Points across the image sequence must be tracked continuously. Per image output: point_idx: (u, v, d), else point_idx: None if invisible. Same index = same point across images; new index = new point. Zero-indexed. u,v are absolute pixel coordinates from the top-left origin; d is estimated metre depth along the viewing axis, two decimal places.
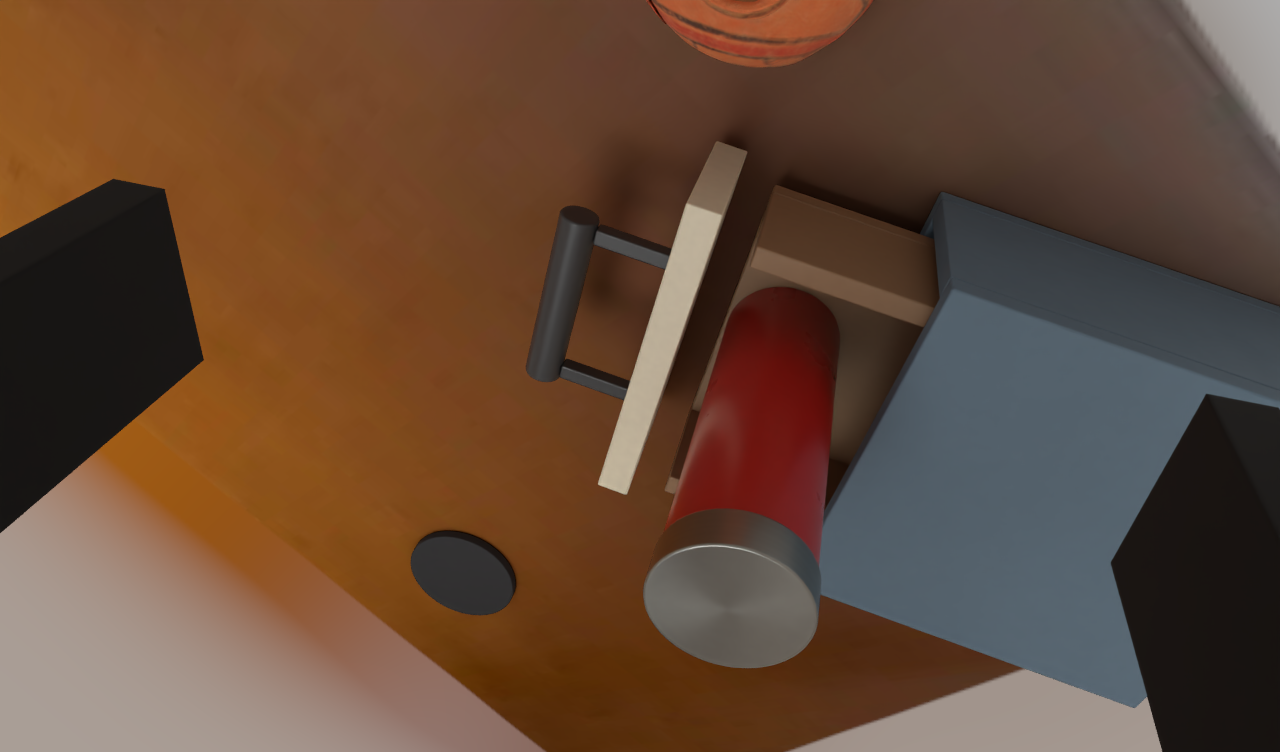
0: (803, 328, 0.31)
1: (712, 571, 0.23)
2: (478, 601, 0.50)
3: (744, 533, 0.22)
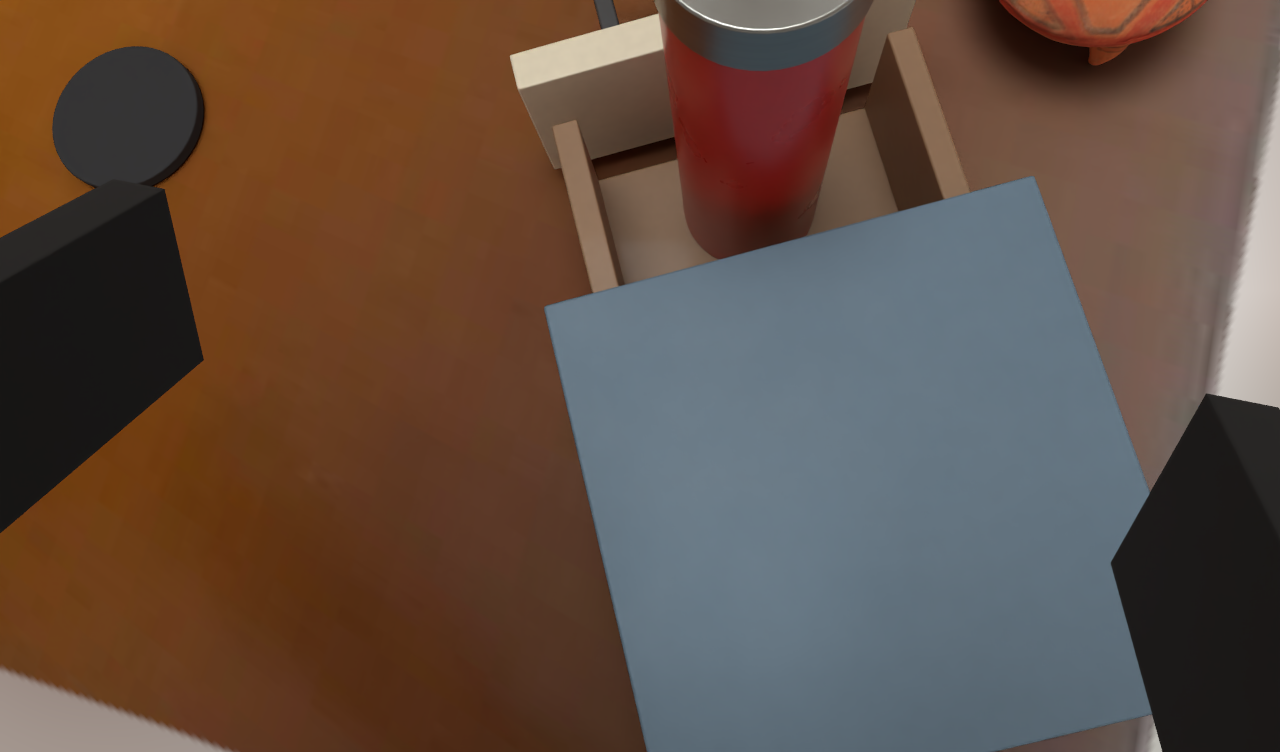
0: None
1: None
2: (92, 153, 0.35)
3: None
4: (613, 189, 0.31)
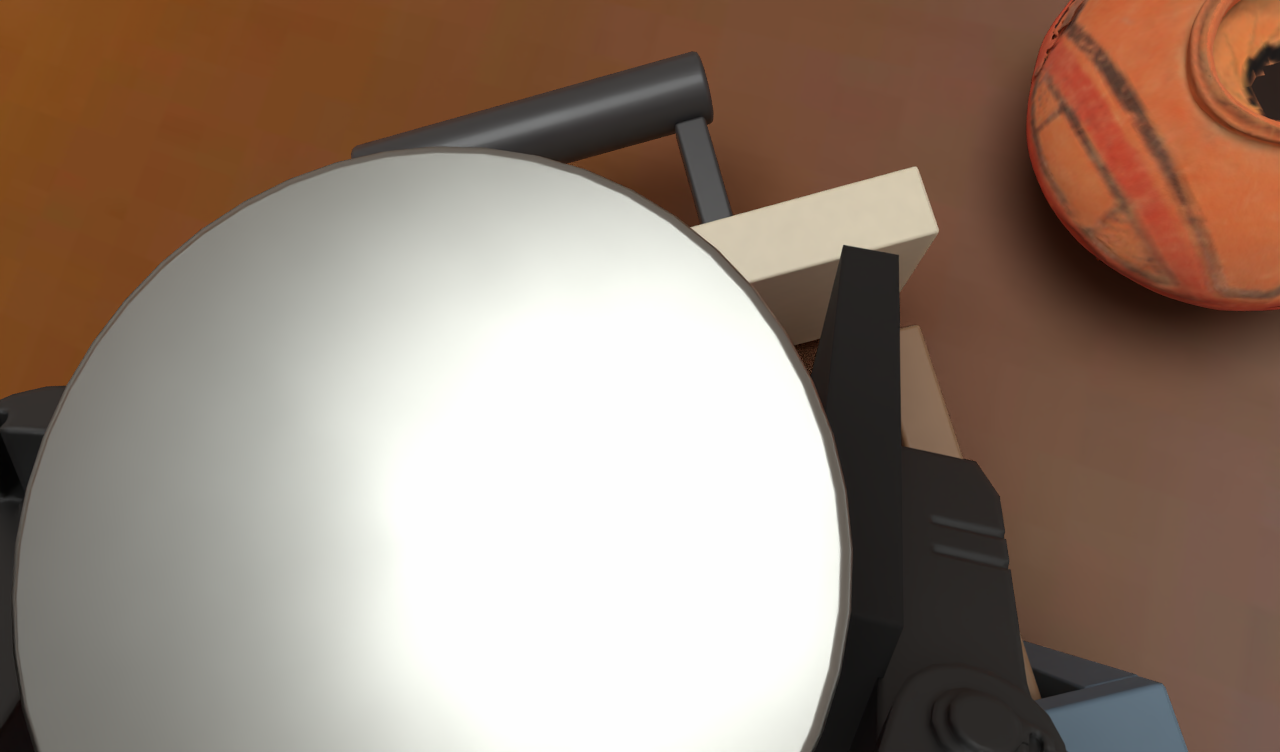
0: None
1: (585, 349, 0.05)
2: None
3: None
4: None
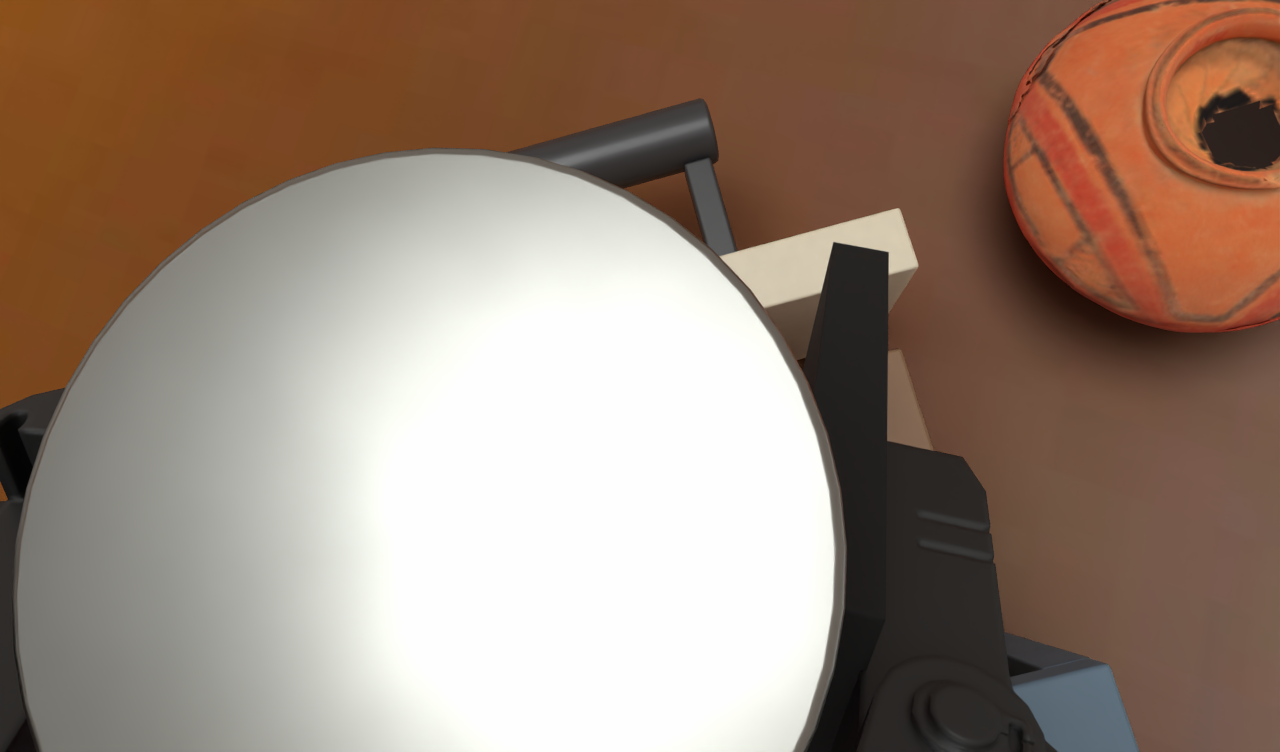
0: None
1: (582, 349, 0.05)
2: None
3: None
4: None
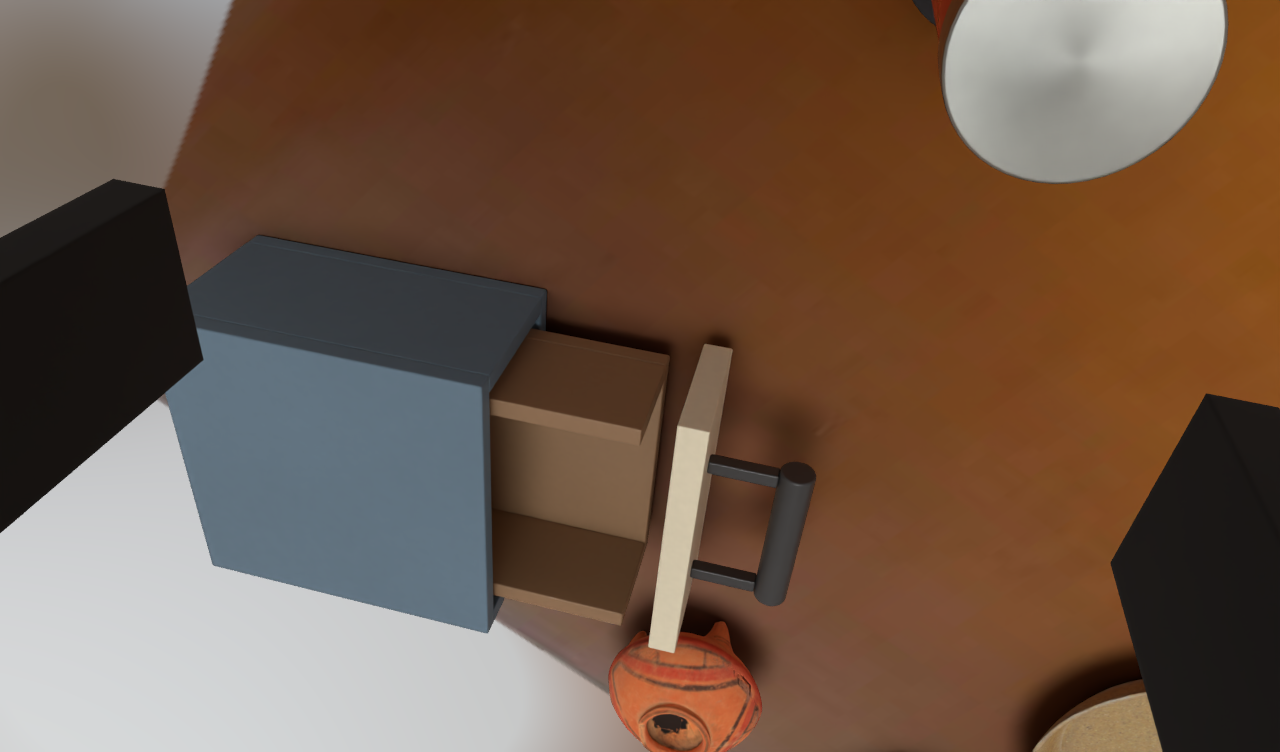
0: None
1: (1101, 131, 0.16)
2: None
3: None
4: None
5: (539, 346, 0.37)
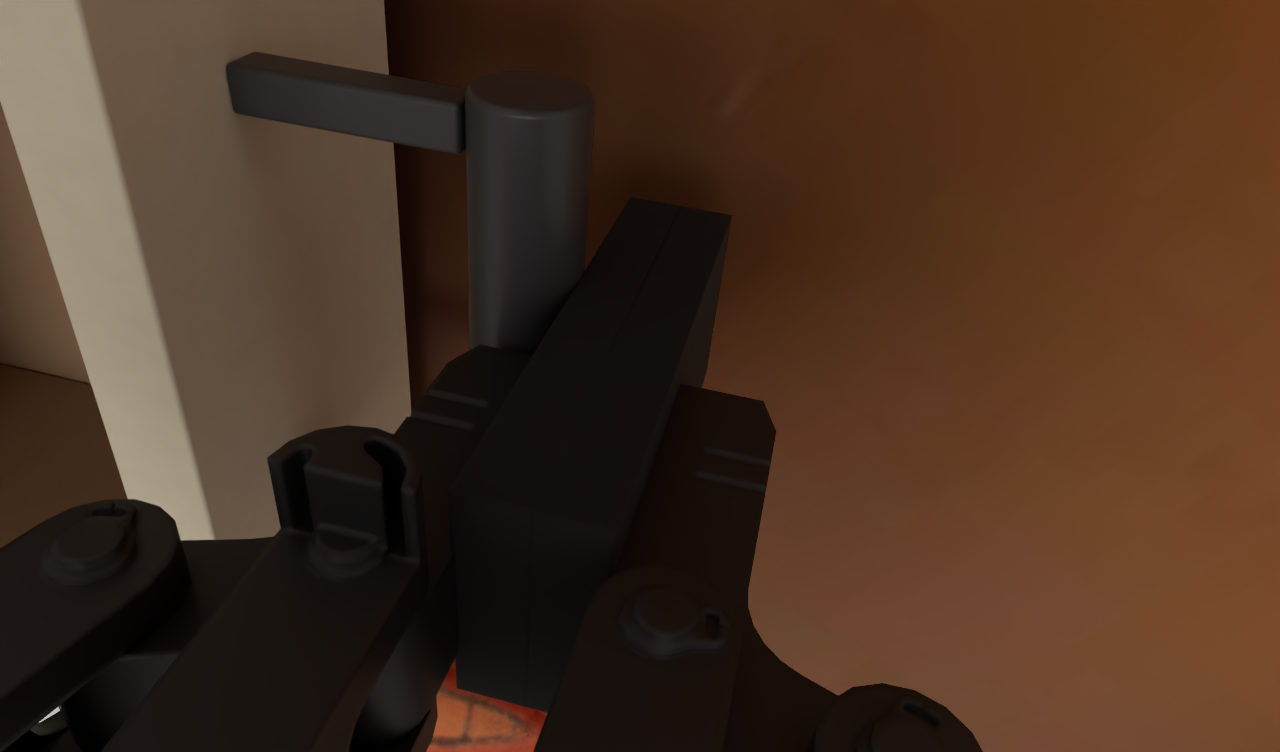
0: None
1: None
2: None
3: None
4: None
5: None
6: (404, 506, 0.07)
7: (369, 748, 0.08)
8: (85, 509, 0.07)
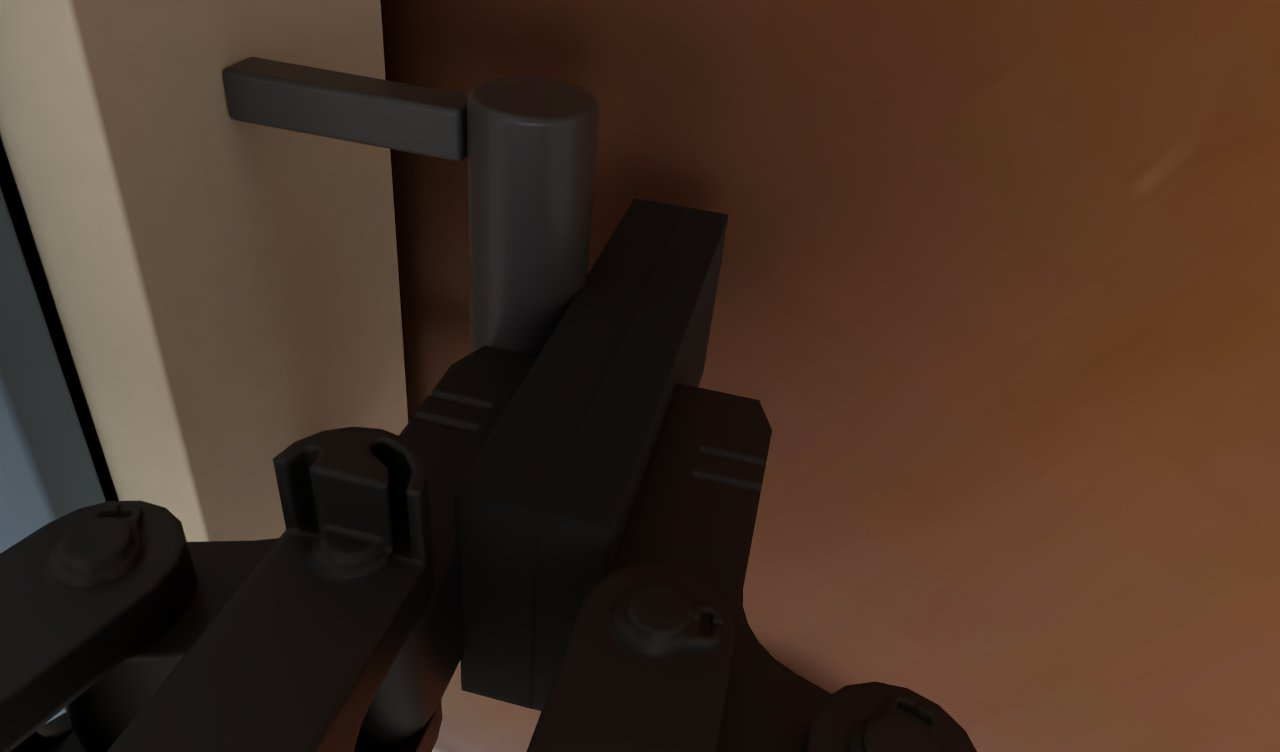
0: None
1: None
2: None
3: None
4: None
5: None
6: (410, 507, 0.07)
7: (374, 750, 0.08)
8: (93, 510, 0.07)
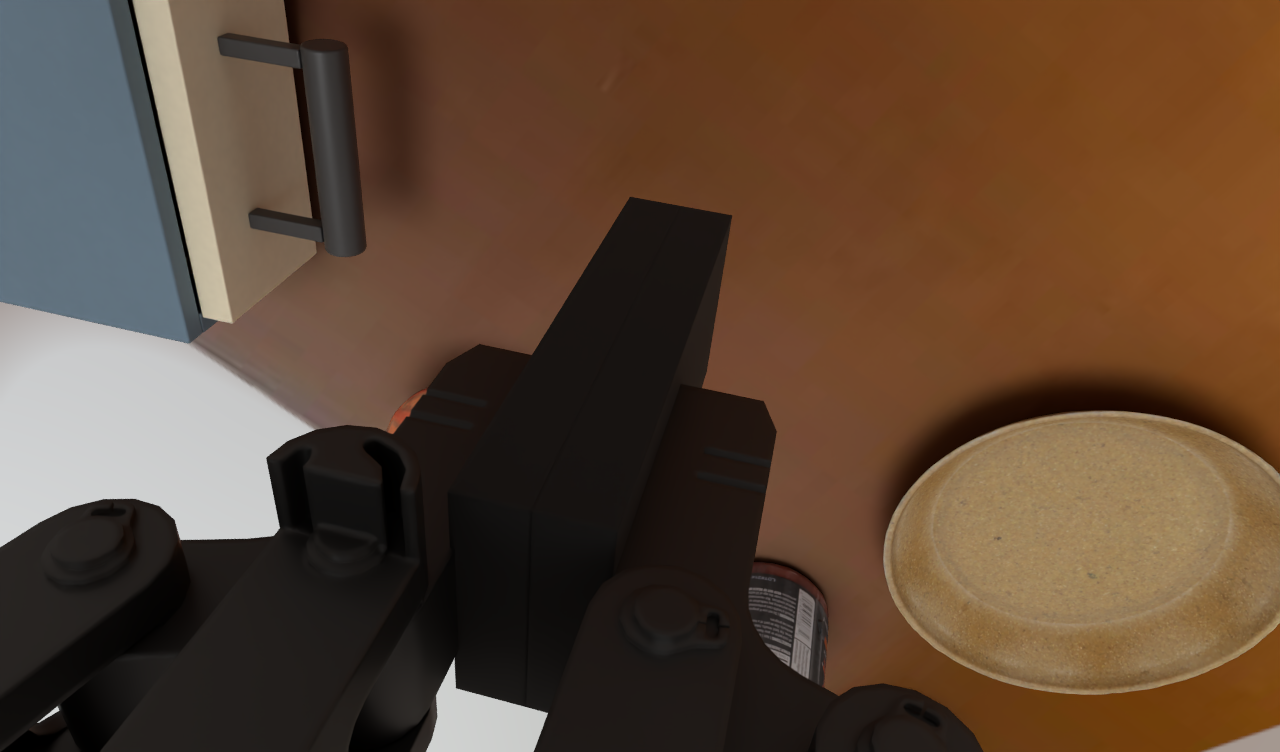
0: None
1: None
2: None
3: None
4: None
5: None
6: (404, 506, 0.07)
7: (369, 748, 0.08)
8: (85, 509, 0.07)
